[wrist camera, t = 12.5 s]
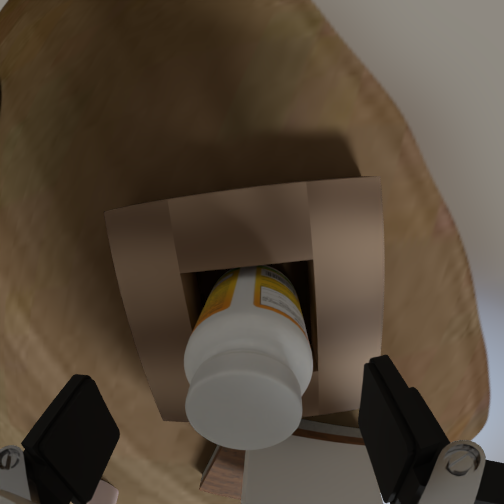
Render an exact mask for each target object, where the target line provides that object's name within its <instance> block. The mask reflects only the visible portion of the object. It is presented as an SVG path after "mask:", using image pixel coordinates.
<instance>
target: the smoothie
mask: <svg viewBox="0 0 504 504" xmlns="http://www.w3.org/2000/svg"><path fill="white" fill-rule="evenodd" d="M118 493H119V492H118V490H117V489H116V488H115V487H114V486H112V485H111V484H109V483H107V482H105V481H103V480H100V481H99V484H98V486H97V488H96V490H95V493H94V495H93V497H92V499H91V501H89V502H87V504H116V502H117V497H118Z"/></svg>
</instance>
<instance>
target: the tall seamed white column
mask: <svg viewBox="0 0 504 504" xmlns="http://www.w3.org/2000/svg"><path fill="white" fill-rule="evenodd" d="M199 490H201V491H204V492H208V493H212V494H216V495H221V496H225V497H230V498H234V499H239V500H241V504H383V502H382V498H381V494H380V491H379V487H378V484H377V481H376V477H375V474H374V471H373V467H372V464H371V461H370V458H369V455H368V452H367V449H366V446H365V443H364V441H363V438H362V435H361V432H360V429H359V428H352V427H345V426H338V425H332V424H326V423H320V422H315V421H310V420H305V419H301V421H300V424H299V426H298V427H297V429H296V430H295V431H294V432H293V434H292V435H291V436H289V437H288V438H287V439H285V440H284V441H282V442H280V443H278V444H276V445H273V446H271V447H267V448H263V449H256V450H238V449H231V448H227V447H223V446H220V445H217V447H216V449H215V451H214V453H213V455H212V457H211V459H210V461H209V463H208V465H207V466H206V468H205V470H204V472H203V474H202V478H201V483H200V488H199Z"/></svg>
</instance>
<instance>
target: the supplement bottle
mask: <svg viewBox="0 0 504 504" xmlns="http://www.w3.org/2000/svg"><path fill="white" fill-rule="evenodd" d="M184 369H185V374H186V377H187V380H188V382H189V384H190V387H189V390H188V394H187V397H186V401H185V411H186V415H187V418H188V420H189V422H190V424H191V425H192V427H193V428H194V429H195V430H196V431H197V432H198V433H199V434H200V435H202V436H203V437H204V438H206V439H207V440H209V441H211V442H213V443H215V444H217V445H220V446H223V447H227V448H231V449H238V450H256V449H263V448H267V447H271V446H273V445H276V444H278V443H280V442H282V441H284V440H285V439H287V438H288V437H289V436H291V435H292V434H293V432H294V431H295V430H296V429H297V427H298V426H299V424H300V421H301V418H302V399H301V396H302V395H303V394H304V392H305V391H306V389H307V387H308V385H309V383H310V380H311V377H312V372H313V358H312V351H311V347H310V343H309V340H308V335H307V331H306V327H305V323H304V319H303V315H302V311H301V307H300V303H299V299H298V296H297V293H296V291H295V289H294V287H293V285H292V283H291V282H290V281H289V279H288V278H287V277H286V276H285V275H284V274H282V273H281V272H280V271H278V270H276V269H274V268H272V267H270V266H267V265H257V266H247V267H238V268H233V269H231V270H229V271H227V272H226V273H225V274H223V275H222V276H221V277H220V278H219V279H218V281H217V282H216V283H215V285H214V287H213V288H212V290H211V293H210V295H209V297H208V299H207V301H206V304H205V306H204V308H203V310H202V312H201V314H200V317H199V319H198V321H197V323H196V325H195V327H194V329H193V331H192V334H191V336H190V338H189V341H188V344H187V346H186V350H185V354H184Z"/></svg>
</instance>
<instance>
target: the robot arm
mask: <svg viewBox="0 0 504 504" xmlns="http://www.w3.org/2000/svg"><path fill="white" fill-rule="evenodd" d="M358 425H359V429H360V432H361V435H362V438H363V441H364V443H365V446H366V449H367V452H368V455H369V458H370V461H371V464H372V467H373V470H374V473H375V476H376V479H377V482H378V485H379V489H380V492H381V495H382V498H383V501H384V502H385V503H388V502H390V504H504V463H500V462H495V461H489V460H485V458H486V457H485V454H484V451H483V449H482V448H481V447H480V446H479V445H478V444H476V443H475V442H472V441H468V440H459V441H454V442H452V443H450V442H449V440H448V438H447V437H446V435H445V433H444V432H443V430H442V428H441V427H440V425H439V423H438V422H437V420H436V418H435V417H434V415H433V414H432V412H431V410H430V409H429V407H428V406H427V404H426V403H425V401H424V399H423V398H422V396H421V395H420V393H419V392H418V390H417V389H416V388H414V387H411V388H408V386H407V384H406V383H405V381H404V380H403V378H402V376H401V375H400V373H399V372H398V370H397V368H396V367H395V365H394V364H393V362H392V361H391V359H390V358H389V356H388V355H382V356H378V357H373V358H370V360H369V363H365V364H364V371H363V382H362V392H361V401H360V409H359V417H358ZM119 437H120V432H119V429H118V427H117V425H116V423H115V421H114V419H113V418H112V416H111V414H110V412H109V410H108V408H107V406H106V404H105V402H104V400H103V398H102V396H101V394H100V392H99V389H98V387H97V385H96V383H95V381H94V380H92V379H91V377H90V376H88V375H79V374H75V375H73V376H72V377H71V379H70V380H69V381H68V382H67V384H66V385H65V386H64V388H63V389H62V390H61V391H60V393H59V394H58V395H57V396H56V398H55V399H54V400H53V402H52V403H51V404H50V405H49V407H48V408H47V409H46V411H45V412H44V413H43V415H42V416H41V417H40V418H39V420H38V421H37V422H36V424H35V425H34V426H33V428H32V429H31V431H30V432H29V433H28V435H27V436H26V437H25V439H24V440H23V441H22V443H21V444H22V446H23V447H24V448H25V450H24V452H23V451H22V450H21V449H20V448H19V447H17V446H14V445H10V446H6V447H3V448H2V449H0V504H69V503H70V501H71V502H72V503H73V504H87V502H89V501H91V499H92V497H93V495H94V493H95V490H96V488H97V486H98V484H99V481H100V479H101V477H102V475H103V472H104V470H105V468H106V466H107V463H108V461H109V459H110V457H111V455H112V453H113V450H114V448H115V446H116V444H117V442H118V440H119Z"/></svg>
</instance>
